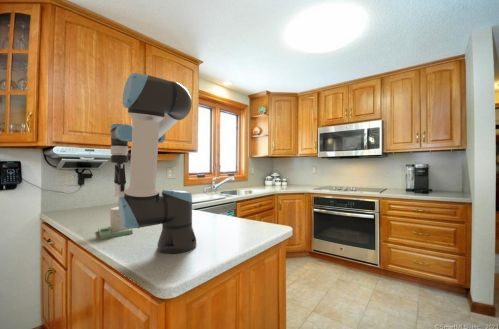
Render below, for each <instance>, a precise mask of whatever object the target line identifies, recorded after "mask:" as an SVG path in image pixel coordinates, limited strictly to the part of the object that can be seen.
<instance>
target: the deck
mask: <svg viewBox="0 0 499 329" xmlns="http://www.w3.org/2000/svg"><path fill="white" fill-rule="evenodd" d="M133 230H134V229H129V230H124V231H118V232H110V225H109V226H108V225H107V226H100V227H98V229H97V231H98V234H99V237H100V240H104V239H109V238H110V239H111V238H114V237H120V236H125V235H133Z"/></svg>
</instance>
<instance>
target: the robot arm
mask: <svg viewBox="0 0 499 329" xmlns="http://www.w3.org/2000/svg"><path fill="white" fill-rule="evenodd" d="M192 105H193V101H192V97H191V95H190V92H189V91H188V89H187V88H186V87H185V86H184V85H182V84H180V83H179V82H176V81H174V80H173V81H171V80H167V79H165V78H162V77H157V76H153V75H149V74H145V73H138V72H133V73H131V74H129V76H128V77H127V79H126V81H125V85H124V88H123V93H122V106H123V107H124V108H125V109H127V114H128V116H129V117H131V118H132V125H131V124H128V123H124V124H123V123H112V124H111V125H110V154H111V156H110V162H111V163H112V164H115V165H114V180H113V182H114V197H118V201H117V204H118V205H117V207H119V213H120V218H121V221H122V224H123V226H124V227H125V228H126V229H129V230H130V229H132V230H134V229H141V228H146V227H152V226H157V225H158V226H159V225H161V227H162V228H161V231H160V232H161V233H160V235H159V239H158V242H157V250H158V252H160V253H163V254H179V253H180V254H181V253H185V252H188V251H191V250H193V249H195V248H196V247H197V238H196V235H195V231H194V228H193V195H192V193H191V192H190V191H187V190H186V191H185V190H178V189H162V191H161V193H160V190H159V189H158V188H157V186H156V183H157V171H158V170H157V167H158V152H159V144H163V143H164V142H165V140H166V133H167V132H168V131H169V130H170V129H171V128H172V127H173V126H175V124H176V123H178V121H183V120H184V119H185V118H186V117H187V116H188V115H189V114H190V112H191V110H192ZM129 143H131V146H130V147H131V150H130V148H129ZM129 151H130V166H129V167H130V168H129V170H130V171H129V172H130V173H129V187H127V188H126V183H127V180H126V178H127V177H126V168H125V166H126V164H127V163H129V156H128V154H129ZM125 163H126V164H125Z"/></svg>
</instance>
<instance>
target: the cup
mask: <svg viewBox="0 0 499 329" xmlns="http://www.w3.org/2000/svg"><path fill="white" fill-rule="evenodd" d="M109 212H110V220H109V222H110V225H109V226H110V232H118V231H124V230H130V229H126V228H125V227H124V226H123V224H122V221H121V218H120V213H119V206H116V207H115V206H114V207H111V208H110V211H109Z"/></svg>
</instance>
